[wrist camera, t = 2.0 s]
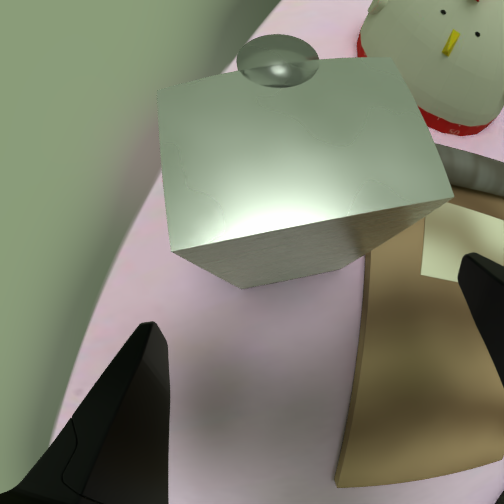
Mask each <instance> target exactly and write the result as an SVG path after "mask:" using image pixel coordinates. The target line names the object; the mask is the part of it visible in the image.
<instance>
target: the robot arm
mask: <svg viewBox="0 0 504 504" xmlns="http://www.w3.org/2000/svg"><path fill="white" fill-rule="evenodd" d="M457 279H458V284H459V286H460V288H461V291H462V293H463V295H464V298H465V300H466V302H467V305H468V307H469V310H470V312H471V315H472V317H473V320H474V322H475V324H476V327H477V329H478V331H479V333H480V335H481V337H482V339H483V341H484V343H485V345H486V348H487V350H488V352H489V354H490V356H491V359H492V361H493V363H494V366H495V368H496V370H497V373H498V375H499V378H500V380H501V383H502V385H503V388H504V266H502V265H500V264H498V263H496V262H494V261H492V260H490V259H488V258H486V257H484V256H482V255H480V254H478V253H476V252H472V253H468V254H465V255H464V256H463V257H462V260H461V264H460V268H459V272H458V276H457ZM169 418H170V379H169V361H168V345H167V341H166V339H165V337H164V335H163V334H162V332H161V330H160V329H159V327H158V325H157V324H156V323H155V322H153V321H151V322H144V323H141V324H140V325H139V326H138V327H137V328H136V330H135V331H134V332H133V334H132V335H131V336H130V337H129V339H128V340H127V341H126V343H125V344H124V345H123V347H122V348H121V349H120V351H119V352H118V353H117V355H116V356H115V357H114V359H113V360H112V361H111V363H110V364H109V365H108V367H107V368H106V369H105V371H104V372H103V374H102V375H101V376H100V378H99V379H98V380H97V382H96V383H95V384H94V386H93V387H92V389H91V390H90V391H89V393H88V394H87V396H86V397H85V398H84V400H83V401H82V403H81V404H80V405H79V407H78V408H77V410H76V411H75V412H74V414H73V415H72V418H70V419H69V421H68V422H67V424H66V425H65V427H64V428H63V429H62V431H61V432H60V434H59V435H58V436H57V438H56V439H55V440H54V442H53V443H52V444H51V446H50V447H49V448H48V449H47V451H46V452H45V453H44V454H43V456H42V457H41V458H40V459H39V460H38V462H37V463H36V464H35V465H34V467H33V468H32V469H31V470H30V471H29V473H28V474H27V475H26V476H25V478H24V479H23V480H22V481H21V482H20V483H19V484H18V485H17V486H16V487H14V488H13V489H11V490H9V491H7V492H4V493H1V494H0V504H168V452H169Z"/></svg>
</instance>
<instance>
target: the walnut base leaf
mask: <svg viewBox="0 0 504 504" xmlns="http://www.w3.org/2000/svg"><path fill="white" fill-rule="evenodd" d="M435 146H436V148H437V151H438V153H439V156H440V158H441V161H442V163H443V166H444V169H445V171H446V174H447V177H448V180H449V182H450V185H451V188H452V191H453V194H454V198H452V199H451V200H449V201H448V202H446V203H445V204H443V205H442V206H440V207H439V208H437V209H436V210H434V211H433V212H431V213H430V214H428V215H427V216H425V217H424V218H422V219H421V220H419V221H417V222H416V223H414V224H413V225H411V226H410V227H408V228H407V229H405V230H403V231H402V232H400V233H399V234H397V235H396V236H394V237H392V238H391V239H389V240H388V241H386V242H384V243H383V244H381V245H380V246H378V247H376V248H375V249H373V250H371V251H370V252H368V253H366V256H365V275H364V291H363V304H362V315H361V326H360V335H359V344H358V352H357V360H356V368H355V375H354V382H353V388H352V394H351V401H350V406H349V412H348V418H347V423H346V428H345V433H344V438H343V443H342V448H341V452H340V457H339V461H338V465H337V470H336V474H335V478H334V480H335V483H336V486H337V488H349V487H366V486H378V485H388V484H396V483H404V482H411V481H417V480H423V479H428V478H434V477H439V476H444V475H448V474H453V473H457V472H461V471H465V470H469V469H473V468H476V467H480V466H483V465H487V464H490V463H493V462H496V461H499V460H502V459H503V456H504V388H503V385H502V383H501V380H500V378H499V375H498V373H497V370H496V368H495V366H494V363H493V361H492V359H491V356H490V354H489V352H488V350H487V348H486V345H485V343H484V341H483V339H482V337H481V335H480V333H479V331H478V329H477V327H476V324H475V322H474V320H473V317H472V315H471V312H470V310H469V307H468V305H467V302H466V300H465V298H464V295H463V293H462V291H461V288H460V286H459V284H458V279H457V276H458V272H459V268H460V264H461V260H462V257H463V256H464V255H465V254H468V253H472V252H476V253H478V254H480V255H482V256H484V257H486V258H488V259H490V260H492V261H494V262H496V263H498V264H500V265H502V266H504V163H503V162H500V161H497V160H494V159H491V158H488V157H484V156H481V155H477V154H474V153H470V152H467V151H463V150H459V149H456V148H452V147H448V146H444V145H440V144H435Z"/></svg>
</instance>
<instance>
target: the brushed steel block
mask: <svg viewBox="0 0 504 504" xmlns="http://www.w3.org/2000/svg"><path fill="white" fill-rule="evenodd" d="M237 68H238V71H234V72H229V73H224V74H220V75H215V76H211V77H207V78H202V79H198V80H194V81H190V82H186V83H182V84H178V85H175V86H171V87H168V88H164V89H161V90H158V91H157V101H158V102H157V103H158V122H159V139H160V153H161V165H162V177H163V187H164V197H165V206H166V215H167V224H168V232H169V240H170V247H171V252H173V253H175V254H176V255H178V256H180V257H182V258H184V259H186V260H187V261H189V262H191V263H193V264H195V265H197V266H198V267H200V268H202V269H204V270H206V271H208V272H210V273H212V274H213V275H215V276H217V277H219V278H221V279H223V280H225V281H227V282H229V283H230V284H232V285H234V286H236V287H238V288H240V289H246V288H251V287H256V286H262V285H267V284H272V283H277V282H282V281H287V280H292V279H296V278H301V277H306V276H311V275H316V274H320V273H325V272H330V271H334V270H339V269H341V268H343V267H345V266H347V265H348V264H350V263H352V262H353V261H355V260H357V259H358V258H360V257H362V256H363V255H365V254H366V253H368V252H370V251H371V250H373V249H375V248H376V247H378V246H380V245H381V244H383V243H384V242H386V241H388V240H389V239H391V238H392V237H394V236H396V235H397V234H399V233H400V232H402V231H403V230H405V229H407V228H408V227H410V226H411V225H413V224H414V223H416V222H417V221H419V220H421V219H422V218H424V217H425V216H427V215H428V214H430V213H431V212H433V211H434V210H436V209H437V208H439V207H440V206H442V205H443V204H445V203H446V202H448V201H449V200H451V199H452V198H454V194H453V191H452V188H451V185H450V182H449V180H448V177H447V174H446V171H445V169H444V166H443V163H442V161H441V158H440V156H439V153H438V151H437V148H436V146H435V143H434V141H433V139H432V136H431V134H430V132H429V129H428V127H427V125H426V123H425V121H424V118H423V116H422V114H421V112H420V110H419V108H418V106H417V104H416V102H415V100H414V98H413V96H412V94H411V92H410V90H409V88H408V86H407V85H406V83H405V81H404V79H403V77H402V75H401V74H400V72H399V70H398V68H397V67H396V65H395V63H394V61H393V60H392V58H391V57H357V58H335V59H321V60H319V57H318V55H317V53H316V51H315V50H314V49H313V48H312V47H311V46H310V45H309V44H308V43H306V42H305V41H303V40H301V39H299V38H296V37H293V36H289V35H281V34H273V35H265V36H261V37H258V38H255V39H253V40H251V41H249V42H248V43H247V44H245V45H244V46H243V47H242V48H241V50H240V51H239V53H238V55H237Z"/></svg>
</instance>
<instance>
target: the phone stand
mask: <svg viewBox="0 0 504 504" xmlns="http://www.w3.org/2000/svg"><path fill="white" fill-rule="evenodd" d="M496 504H504V491H503V492H502V494H501V495H500V497H499V498H498V500H497V503H496Z"/></svg>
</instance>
